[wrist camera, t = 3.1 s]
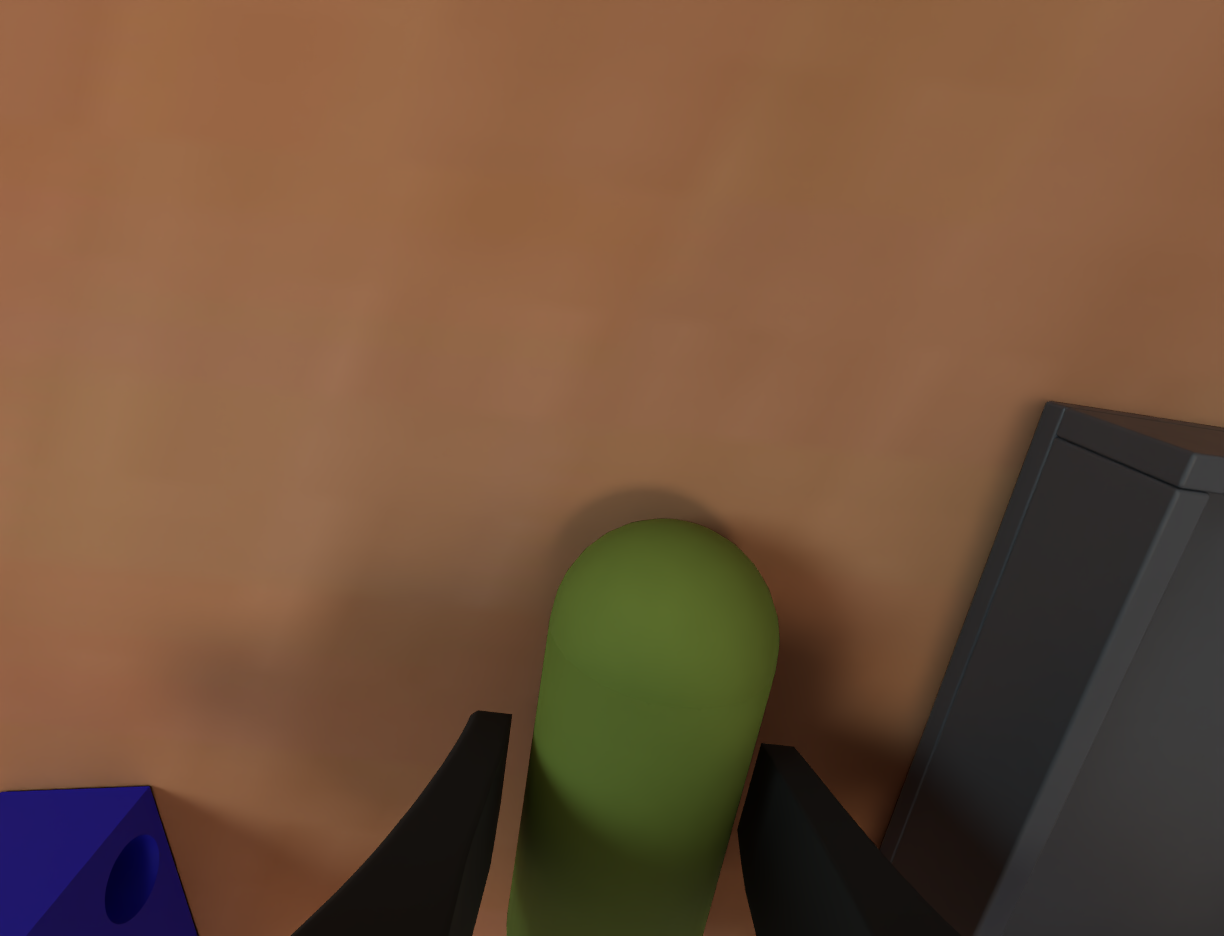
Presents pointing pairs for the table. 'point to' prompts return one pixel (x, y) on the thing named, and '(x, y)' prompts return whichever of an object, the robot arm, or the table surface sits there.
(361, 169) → the table surface
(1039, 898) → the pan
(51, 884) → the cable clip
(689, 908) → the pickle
